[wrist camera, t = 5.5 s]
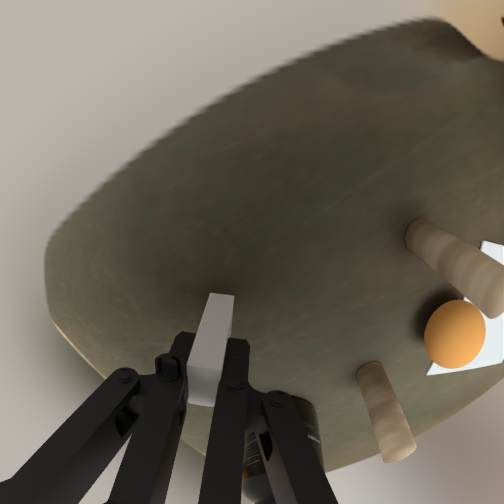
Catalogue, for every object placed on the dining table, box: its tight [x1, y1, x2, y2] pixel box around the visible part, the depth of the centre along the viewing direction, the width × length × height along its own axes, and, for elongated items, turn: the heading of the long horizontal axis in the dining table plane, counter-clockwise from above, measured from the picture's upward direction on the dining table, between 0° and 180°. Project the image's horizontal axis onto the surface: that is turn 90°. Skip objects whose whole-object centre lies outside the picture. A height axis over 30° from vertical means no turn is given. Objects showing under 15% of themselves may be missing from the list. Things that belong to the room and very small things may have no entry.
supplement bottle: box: [242, 397, 325, 504], centre depth 18 cm, size 7×7×12 cm
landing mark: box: [426, 240, 504, 375], centre depth 19 cm, size 14×14×1 cm
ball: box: [424, 300, 486, 369], centre depth 17 cm, size 6×6×6 cm
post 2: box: [405, 219, 504, 319], centre depth 13 cm, size 2×2×9 cm
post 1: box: [356, 362, 417, 463], centre depth 17 cm, size 2×2×9 cm
